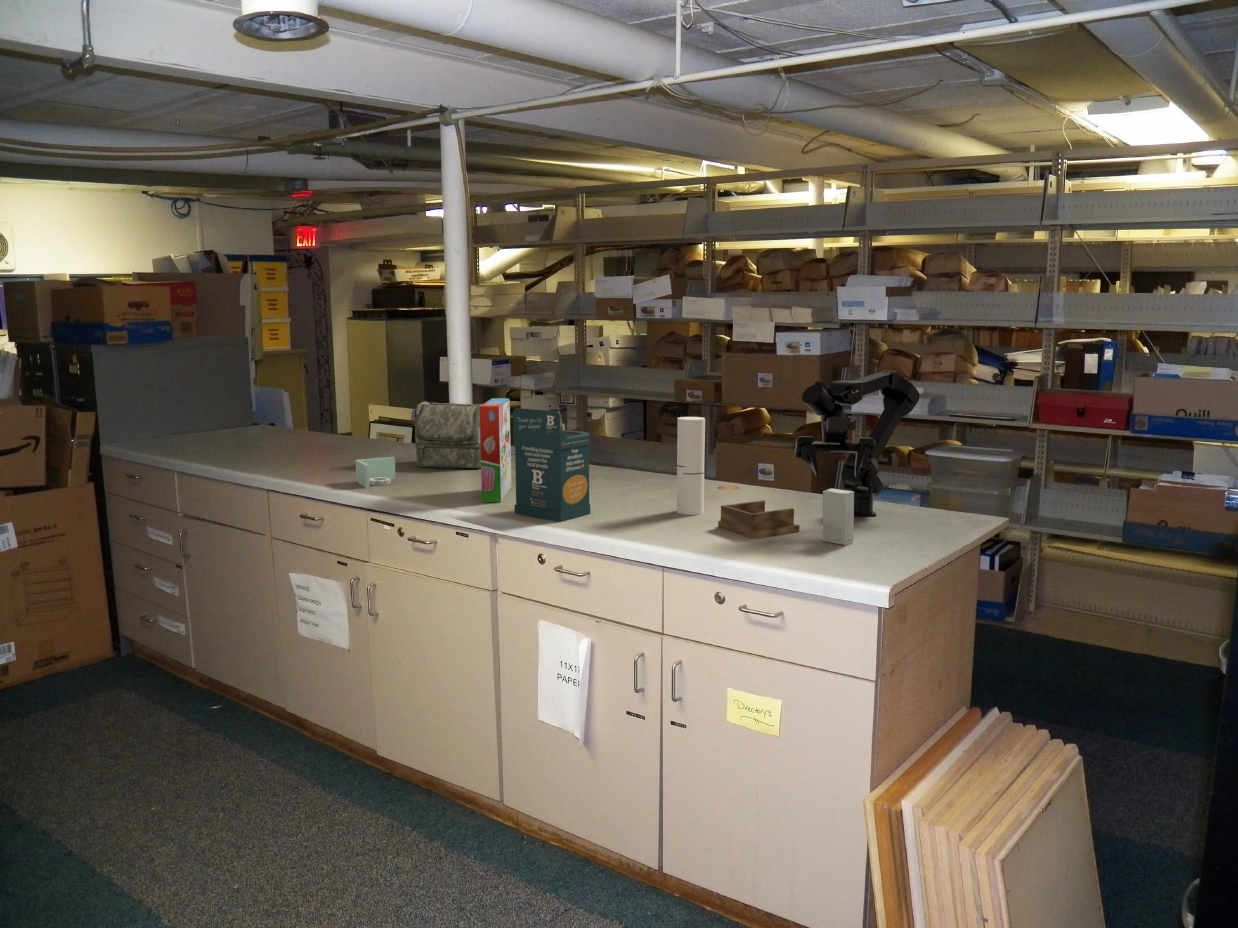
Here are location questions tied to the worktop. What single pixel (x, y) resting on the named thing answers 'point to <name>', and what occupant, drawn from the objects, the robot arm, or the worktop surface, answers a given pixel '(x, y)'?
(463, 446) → the lunch bag
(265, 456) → the worktop surface
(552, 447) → the donation box
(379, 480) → the l-shaped corner panel
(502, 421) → the game box
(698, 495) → the cylindrical container
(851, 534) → the skincare box
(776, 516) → the box
